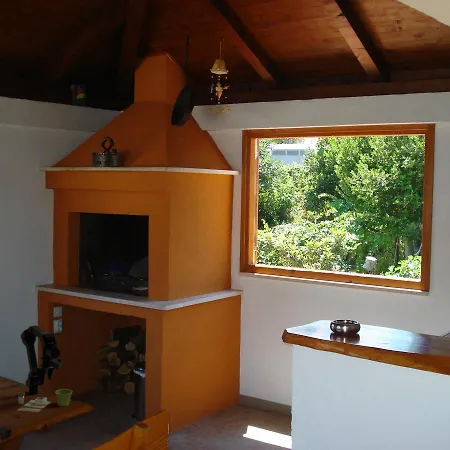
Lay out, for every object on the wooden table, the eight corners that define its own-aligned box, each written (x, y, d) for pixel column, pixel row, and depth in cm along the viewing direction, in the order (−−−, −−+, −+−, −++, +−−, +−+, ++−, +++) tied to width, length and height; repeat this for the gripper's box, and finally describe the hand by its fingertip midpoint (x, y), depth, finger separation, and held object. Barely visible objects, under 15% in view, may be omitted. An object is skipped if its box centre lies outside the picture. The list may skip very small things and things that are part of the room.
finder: (38, 401, 352) (38, 396, 352) (46, 402, 352) (46, 397, 352) (34, 404, 348) (34, 398, 347) (43, 405, 347) (43, 399, 347)
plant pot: (75, 405, 354) (75, 390, 354) (64, 410, 346) (65, 395, 345) (62, 402, 358) (62, 388, 358) (51, 407, 350) (51, 392, 349)
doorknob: (19, 404, 352) (19, 391, 351) (25, 405, 351) (25, 391, 351) (16, 406, 348) (17, 393, 348) (22, 407, 348) (23, 393, 347)
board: (31, 402, 356) (31, 399, 356) (51, 404, 355) (51, 401, 355) (17, 412, 338) (17, 409, 338) (38, 414, 337) (38, 411, 337)
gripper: (53, 359, 346) (52, 387, 346) (66, 352, 364) (66, 378, 365) (34, 358, 348) (34, 385, 348) (48, 351, 366) (48, 377, 366)
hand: (46, 382), depth 357 cm, fingers open, 9 cm apart
